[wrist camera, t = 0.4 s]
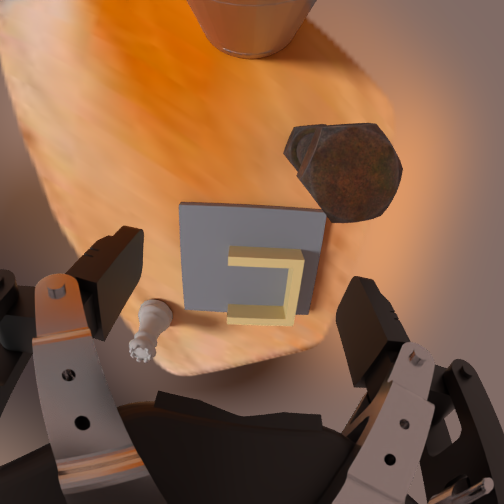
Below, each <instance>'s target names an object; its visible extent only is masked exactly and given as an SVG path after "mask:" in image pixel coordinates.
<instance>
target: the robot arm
mask: <svg viewBox="0 0 504 504" xmlns="http://www.w3.org/2000/svg"><path fill="white" fill-rule="evenodd" d="M187 2H188V4H189V5H190V7H191V9H192V11H193V13H194V14H195V16H196V18H197V20H198V22H199V24H200V26H201V28H202V29H203V31H204V33H205V35H206V37H207V38H208V40H209V41H210V42H211V43H212V45H214V46H215V47H216V48H217V49H219V50H220V51H222V52H224V53H226V54H228V55H231V56H234V57H238V58H245V59H253V58H262V57H266V56H269V55H272V54H274V53H277V52H278V51H280V50H281V49H283V48H285V46H286V45H287V44H288V43H290V42H291V40H292V38H293V37H294V35H295V34H296V32H297V30H298V29H299V27H300V26H301V24H302V23H303V21H304V19H305V18H306V16H307V15H308V13H309V11H310V10H311V8H312V7H313V5H314V3H315V2H316V0H187ZM143 243H144V232H143V230H142V229H138V228H133V227H129V226H122V227H121V228H120V229H119V230H118V231H117V232H116V233H115V234H114V235H113V236H109V235H108V236H106V237H104V238H102V239H100V240H97V241H96V242H95V243H94V244H93V245H92V246H91V247H90V249H88V250H87V251H86V252H85V253H84V255H82V257H81V258H80V259H79V260H78V261H77V262H76V263H75V264H74V265H73V266H72V267H71V268H70V269H69V270H68V271H67V272H66V273H65V274H53V275H49V276H47V277H45V278H43V279H41V280H40V281H39V283H37V285H36V287H31V286H18V285H17V283H16V279H15V276H14V274H13V273H12V272H11V271H9V270H4V269H1V270H0V417H1V414H2V412H3V410H4V408H5V406H6V403H7V401H8V399H9V397H10V395H11V393H12V391H13V389H14V387H15V385H16V383H17V381H18V379H19V378H20V375H21V374H22V372H23V370H24V368H25V366H26V364H27V363H28V361H29V359H30V358H31V356H32V354H33V356H34V365H35V373H36V380H37V386H38V392H39V398H40V403H41V407H42V412H43V417H44V421H45V425H46V429H47V433H48V437H49V441H50V443H49V444H46V445H45V446H42V447H41V448H39V449H36V450H35V451H32V452H30V453H28V454H26V455H24V456H22V457H20V458H18V459H16V460H13V461H11V462H9V463H7V464H4V465H2V466H0V504H418V503H417V502H416V501H415V500H414V499H413V498H411V497H410V496H409V495H408V494H407V492H408V490H409V488H410V485H411V483H412V480H413V478H414V475H415V472H416V469H417V467H418V464H419V462H420V466H421V471H422V476H423V481H424V486H425V492H426V498H427V504H504V433H503V431H502V428H501V425H500V423H499V420H498V418H497V416H496V413H495V411H494V409H493V406H492V404H491V402H490V400H489V398H488V395H487V393H486V391H485V389H484V387H483V385H482V382H481V380H480V378H479V377H478V374H477V372H476V371H475V369H474V368H473V367H472V366H471V365H470V364H469V363H467V362H466V361H464V360H461V359H456V360H454V361H453V362H452V363H451V365H450V366H449V367H448V368H444V367H441V366H438V365H435V362H434V359H433V357H432V355H431V354H430V353H429V351H428V350H427V349H425V348H424V347H423V346H421V345H419V344H417V343H413V342H410V340H409V338H408V336H407V334H406V332H405V330H404V328H403V326H402V324H401V322H400V321H399V320H398V317H397V315H396V313H394V312H395V311H394V309H393V307H392V305H391V303H390V302H389V301H388V300H387V299H386V298H385V297H384V296H383V295H382V294H381V293H380V291H379V289H378V287H377V286H376V284H375V282H374V280H372V279H368V278H363V277H358V276H354V277H353V278H352V279H351V281H350V283H349V285H348V287H347V290H346V292H345V294H344V296H343V298H342V300H341V302H340V304H339V306H338V309H337V312H336V324H337V327H338V331H339V334H340V338H341V341H342V345H343V348H344V352H345V356H346V359H347V363H348V366H349V370H350V374H351V378H352V382H353V385H354V387H359V388H360V387H362V388H367V392H366V393H365V395H364V396H363V397H362V399H361V401H360V403H359V404H358V406H357V408H356V410H355V411H354V413H353V414H352V416H351V418H350V419H349V421H348V423H347V424H346V426H345V428H344V429H343V431H342V432H341V433H339V432H336V431H335V430H332V429H330V428H327V427H324V426H322V419H321V415H318V414H317V415H316V414H299V413H287V412H282V413H275V414H266V415H256V416H245V417H243V416H238V415H235V414H232V413H230V412H227V411H225V410H222V409H220V408H217V407H215V406H212V405H210V404H207V403H205V402H203V401H200V400H197V399H192V398H187V397H183V396H178V395H174V394H170V393H165V392H162V391H158V393H157V396H156V400H155V401H154V402H153V401H145V402H135V403H129V404H126V405H122V406H119V407H116V405H115V403H114V400H113V398H112V395H111V393H110V390H109V387H108V384H107V382H106V379H105V376H104V373H103V371H102V367H101V364H100V361H99V358H98V355H97V352H96V349H95V345H94V342H93V338H95V339H99V340H101V341H105V340H106V338H107V336H108V334H109V332H110V331H111V329H112V327H113V325H114V323H115V321H116V320H117V318H118V316H119V314H120V313H121V311H122V309H123V307H124V306H125V304H126V302H127V300H128V299H129V297H130V295H131V294H132V292H133V290H134V289H135V287H136V285H137V284H138V282H139V280H140V277H141V273H142V266H143ZM453 409H456V412H457V415H458V418H459V421H460V424H461V428H462V431H461V435H460V437H459V438H458V439H457V440H456V441H455V442H454V443H453V444H452V442H451V439H450V435H449V432H448V429H447V426H446V423H445V420H444V418H445V417H446V416H447V415H448V414H449V413H450V412H452V411H453Z"/></svg>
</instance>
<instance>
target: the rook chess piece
mask: <svg viewBox="0 0 504 504" xmlns="http://www.w3.org/2000/svg"><path fill="white" fill-rule="evenodd" d="M138 317H139V322H140V327H139V331H138V332H137V333H136V334H135V336H134V338H135V339H133V340H131V341H130V342H129V348H130V353H131V357H132V358H135V357H137V361H138V362H141V360H144V363H147V362H148V361H149V360H151V359H152V358H153V357H155V355H156V349H155V347H156V346H157V338H158V337H159V335H160V333H162V332H163V331H165V330H166V329H167V328H168V327H169V326H170V323H171V321H172V319H173V315H172V311H171V310H170V308H169V307H168V305H166V304H165V303H164V302H162V301H159V300H153V299H151V300H147V301H145V302H144V303H143V304H141V307H140V310H139V313H138Z"/></svg>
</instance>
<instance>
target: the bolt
mask: <svg viewBox="0 0 504 504" xmlns="http://www.w3.org/2000/svg"><path fill="white" fill-rule="evenodd" d="M283 154H284V155H285V156H286V158H287V159H288V160H289V161H290V163H291V164H292V165H293V166H294V168H295V169H296V170H297V171H298V173H297V177H298V179H299V180H300V181H301V182H302V184H303V185H304V186H305V188H306V189H307V190H308V191H309V193H310V194H311V195H312V197H313V198H314V199H315V201H316V202H317V203H318V205H319V206H320V207H321V209H322V210H323V212H324V213H325V214H326V216H327V217H328V218H329V220H330V221H331V222H332V223H352V222H359V221H365V220H370V219H374V218H376V217H379V216H381V215H382V214H383V213H384V211H385V210H386V209H387V208H388V206H389V205H390V203H391V202H392V200H393V198H394V196H395V194H396V192H397V189H398V186H399V184H400V181H401V176H402V170H403V168H402V165H401V162H400V160H399V157H398V156H397V154H396V152H395V150H394V148H393V146H392V144H391V143H390V141H389V140H388V138H387V137H386V135H385V134H384V133H383V131H382V130H381V129H380V128H379V127H378V125H377V124H373V123H356V124H340V125H326V124H318V125H307V126H299V127H294V128H293V130H292V132H291V135H290V137H289V139H288V142H287V144H286V147H285V150H284V153H283Z"/></svg>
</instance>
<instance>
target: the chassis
mask: <svg viewBox="0 0 504 504" xmlns="http://www.w3.org/2000/svg"><path fill="white" fill-rule="evenodd" d="M325 222H326V214H325V213H324V212H323V210H321V209H308V208H295V207H280V206H264V205H246V204H224V203H196V202H181V203H180V204H179V224H180V247H181V265H182V281H183V294H184V306H185V310H199V311H215V312H227V324H236V325H261V326H293V324H294V319H295V315H308V313H309V309H310V304H311V299H312V294H313V289H314V284H315V279H316V274H317V269H318V263H319V258H320V252H321V246H322V241H323V235H324V229H325Z"/></svg>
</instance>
